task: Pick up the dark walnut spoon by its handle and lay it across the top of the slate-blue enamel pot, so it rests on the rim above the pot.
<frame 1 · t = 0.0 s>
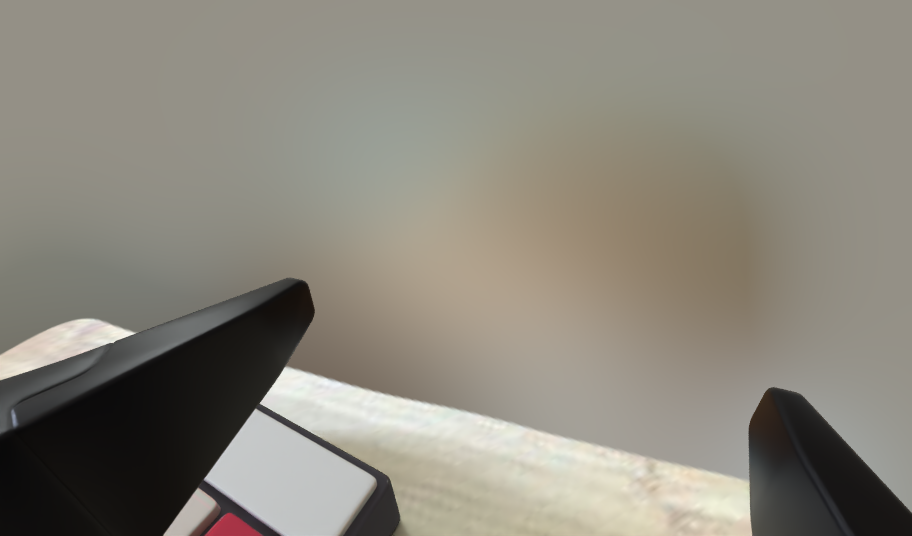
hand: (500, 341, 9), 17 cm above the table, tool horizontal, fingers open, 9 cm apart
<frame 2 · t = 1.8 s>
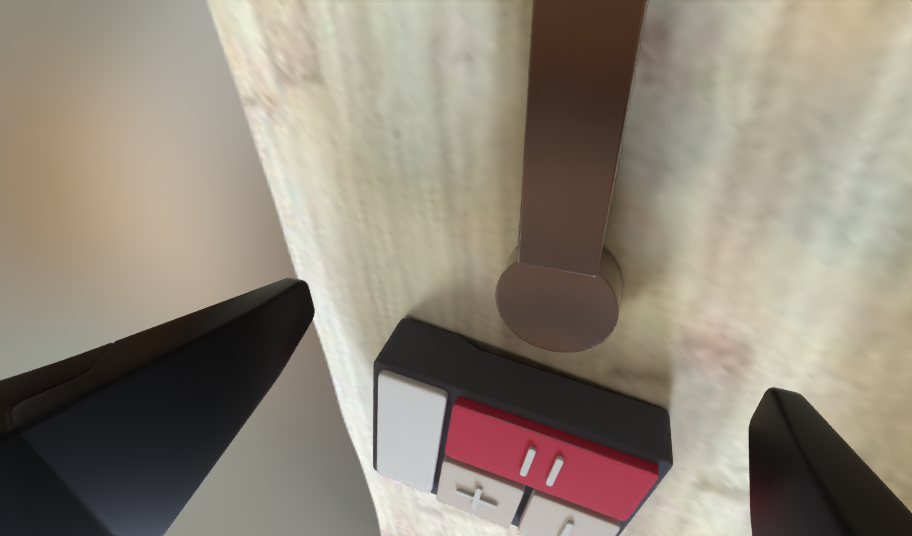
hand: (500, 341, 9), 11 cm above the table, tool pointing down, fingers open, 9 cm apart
spoon: (579, 151, 17), on the table
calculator: (511, 416, 28), on the table
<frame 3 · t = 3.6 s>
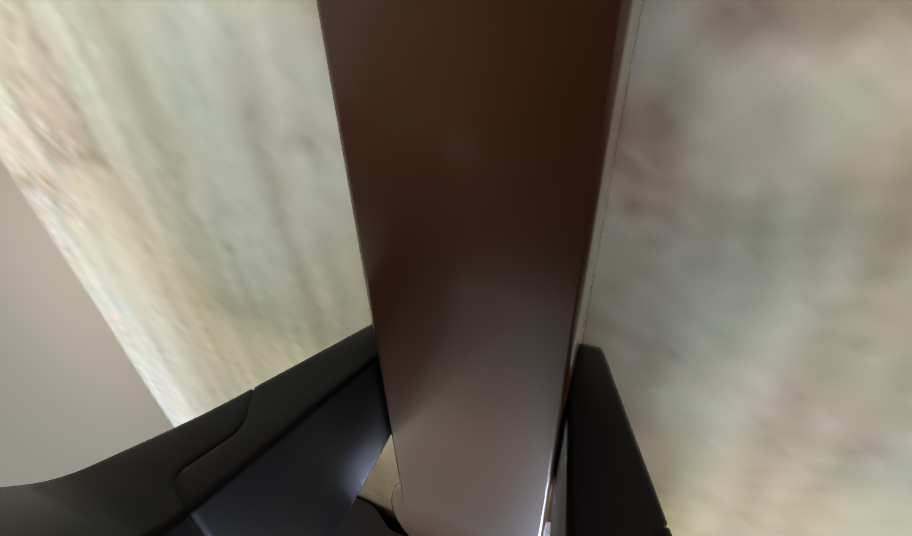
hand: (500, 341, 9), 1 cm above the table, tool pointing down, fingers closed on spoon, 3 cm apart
spoon: (513, 309, 10), on the table, touching gripper
when the fingers open (8 cm above the table, at t = 7.4 s): spoon stays where it is, resting on pot.
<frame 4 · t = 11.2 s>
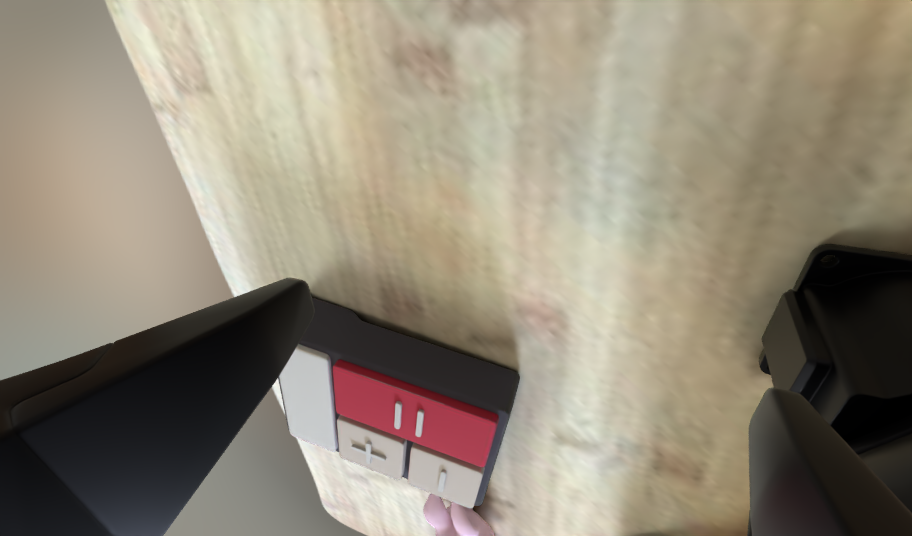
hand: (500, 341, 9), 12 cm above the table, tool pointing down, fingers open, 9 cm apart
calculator: (404, 383, 31), on the table
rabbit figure: (473, 513, 38), on the table
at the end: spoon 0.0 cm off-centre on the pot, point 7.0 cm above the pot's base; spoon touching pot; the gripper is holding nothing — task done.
